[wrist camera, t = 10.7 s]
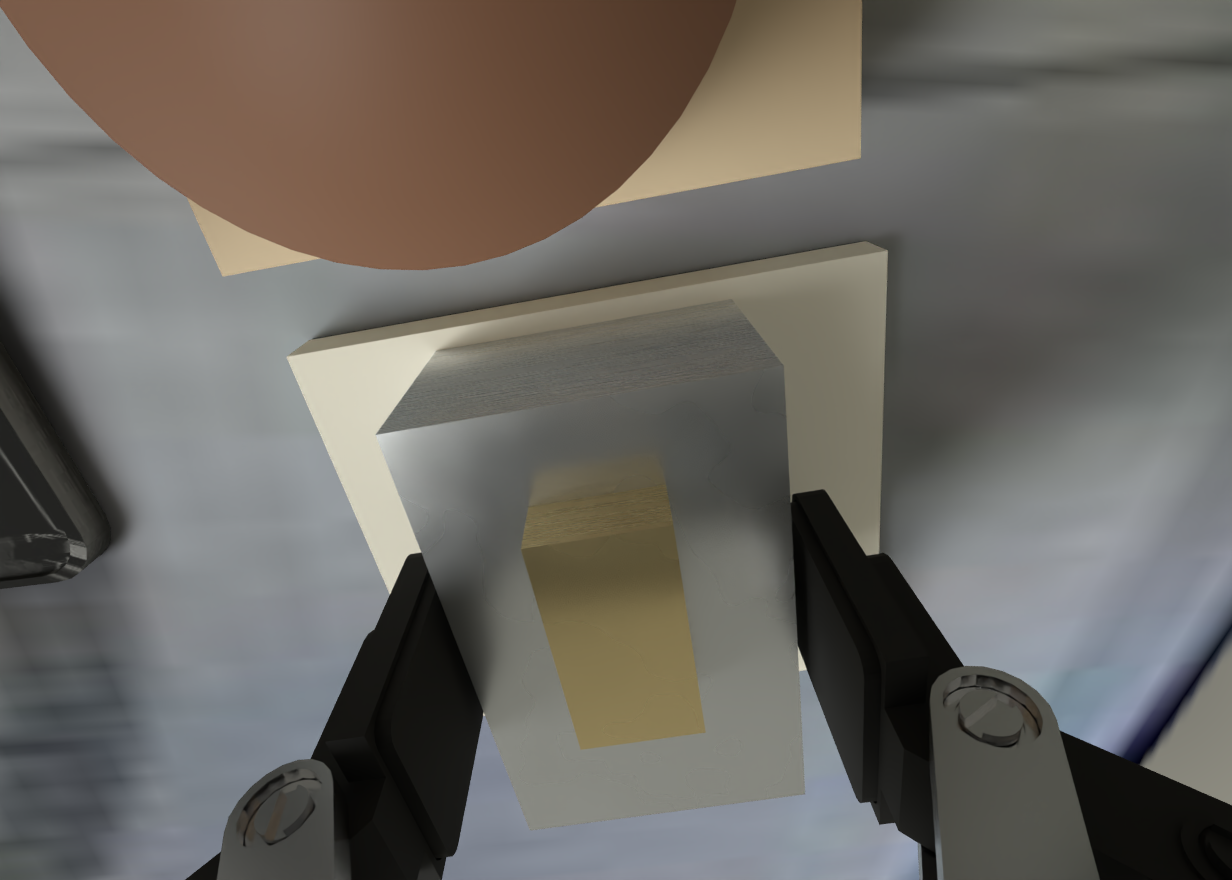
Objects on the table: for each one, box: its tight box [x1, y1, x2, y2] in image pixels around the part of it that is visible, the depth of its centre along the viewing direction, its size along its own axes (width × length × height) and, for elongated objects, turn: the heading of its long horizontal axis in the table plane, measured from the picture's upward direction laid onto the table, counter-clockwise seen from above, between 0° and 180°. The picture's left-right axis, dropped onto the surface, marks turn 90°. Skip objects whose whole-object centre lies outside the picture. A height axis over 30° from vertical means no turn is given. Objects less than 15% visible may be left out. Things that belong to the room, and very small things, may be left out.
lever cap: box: [376, 299, 805, 830], centre depth 11 cm, size 9×6×4 cm, turn 10°
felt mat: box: [287, 241, 888, 716], centre depth 14 cm, size 10×11×1 cm
